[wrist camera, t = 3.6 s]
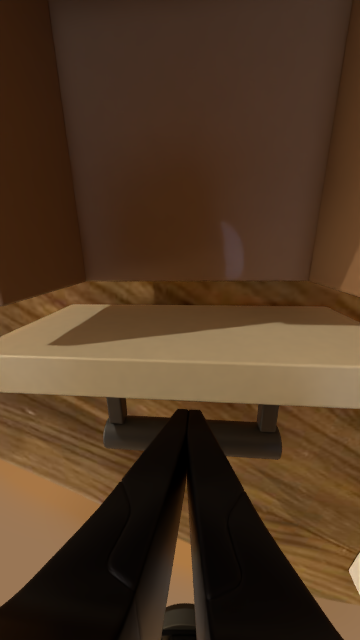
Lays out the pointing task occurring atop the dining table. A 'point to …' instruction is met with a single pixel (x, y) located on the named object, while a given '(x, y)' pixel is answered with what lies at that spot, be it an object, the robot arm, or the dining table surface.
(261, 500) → the dining table surface
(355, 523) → the dining table surface
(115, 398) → the drawer
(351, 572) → the eraser
